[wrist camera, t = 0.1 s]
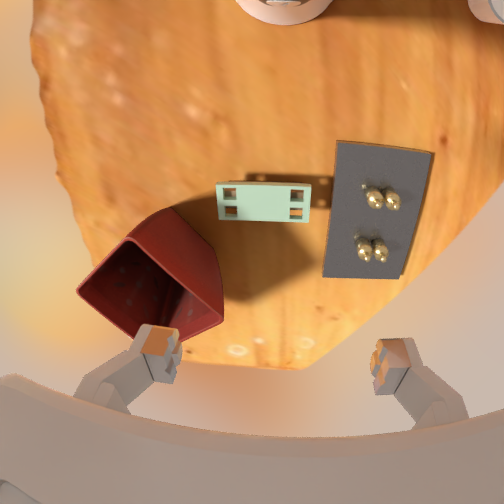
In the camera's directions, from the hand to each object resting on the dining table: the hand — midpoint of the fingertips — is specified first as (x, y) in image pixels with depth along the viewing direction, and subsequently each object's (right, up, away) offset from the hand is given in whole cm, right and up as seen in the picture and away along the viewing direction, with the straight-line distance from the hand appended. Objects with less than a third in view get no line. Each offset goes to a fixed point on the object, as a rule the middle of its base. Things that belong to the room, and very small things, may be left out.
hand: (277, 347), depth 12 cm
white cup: (+36, +44, +12) cm, 58 cm away
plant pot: (-16, +5, +47) cm, 50 cm away
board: (+1, +12, +35) cm, 37 cm away
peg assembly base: (+20, +10, +38) cm, 44 cm away
